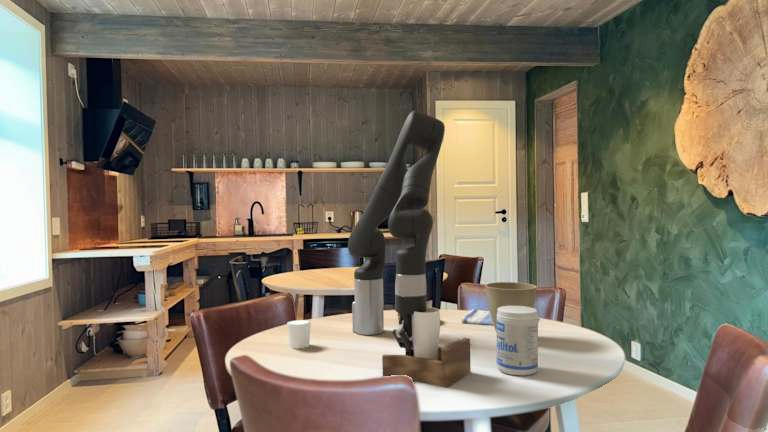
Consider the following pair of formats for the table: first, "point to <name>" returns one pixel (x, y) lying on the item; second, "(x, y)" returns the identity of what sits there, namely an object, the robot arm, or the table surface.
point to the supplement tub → (517, 340)
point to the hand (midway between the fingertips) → (410, 363)
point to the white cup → (299, 333)
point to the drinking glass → (426, 333)
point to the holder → (433, 364)
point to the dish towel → (478, 318)
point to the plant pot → (509, 296)
